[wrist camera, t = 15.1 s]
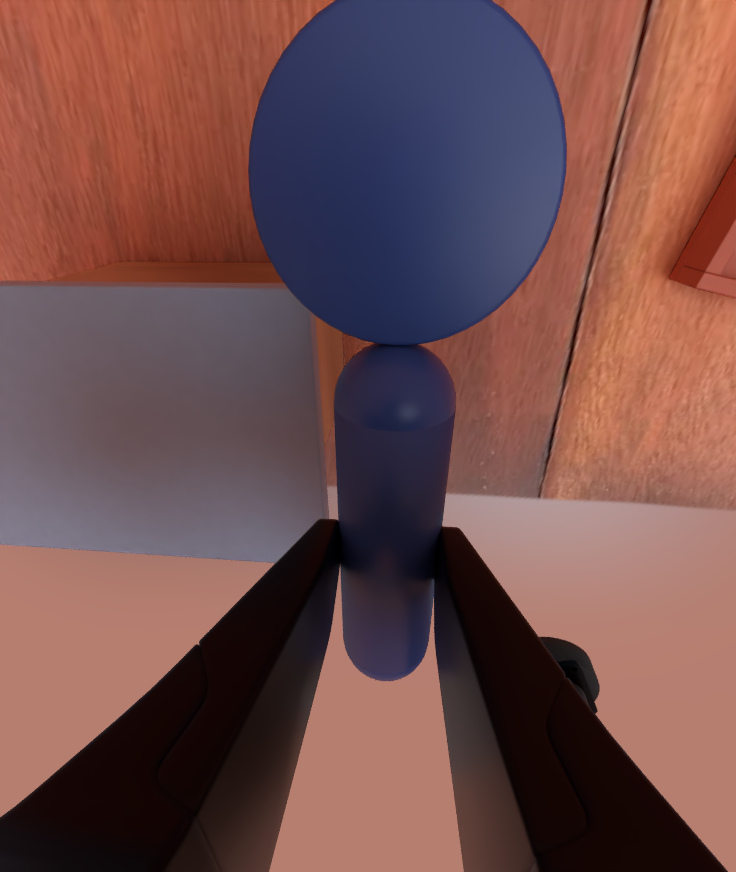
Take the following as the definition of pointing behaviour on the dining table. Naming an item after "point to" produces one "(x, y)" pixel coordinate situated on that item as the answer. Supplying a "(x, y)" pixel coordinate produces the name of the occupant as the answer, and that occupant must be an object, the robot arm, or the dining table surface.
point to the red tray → (713, 244)
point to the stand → (230, 273)
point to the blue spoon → (403, 256)
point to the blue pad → (159, 418)
